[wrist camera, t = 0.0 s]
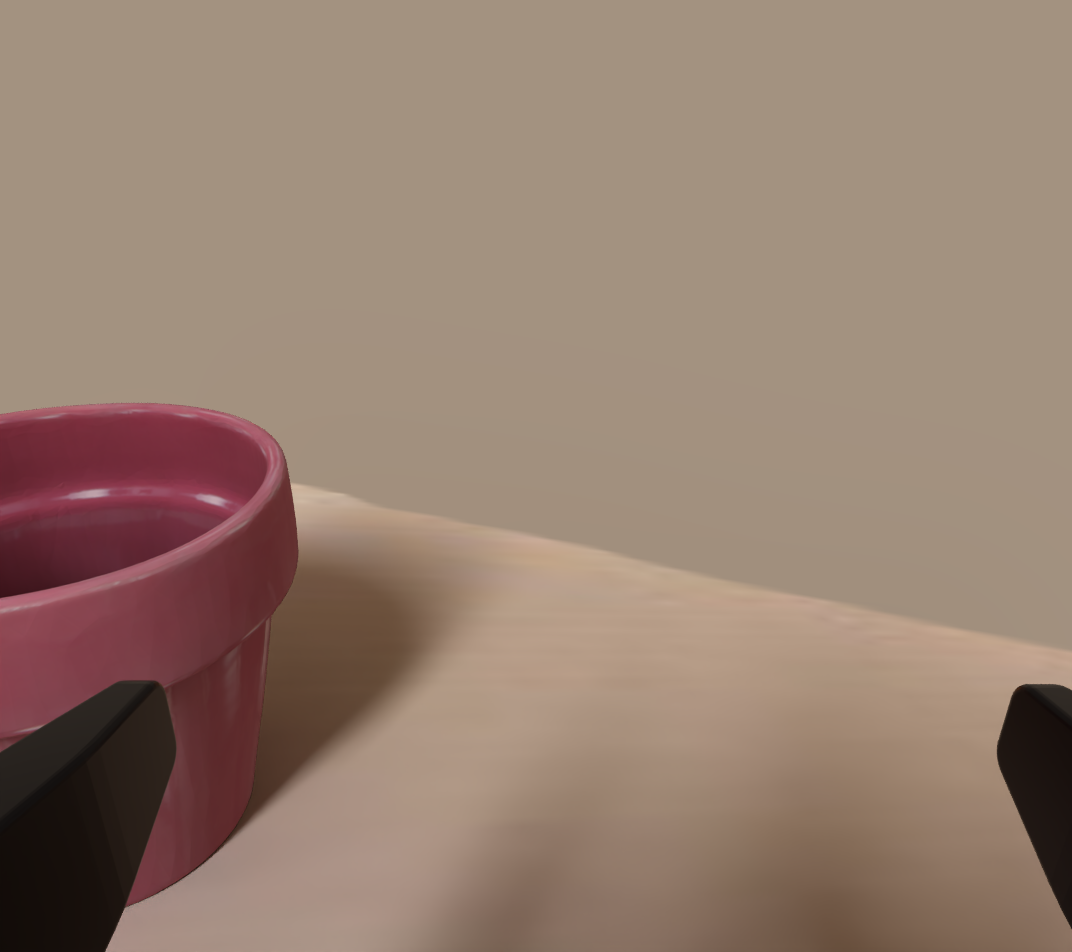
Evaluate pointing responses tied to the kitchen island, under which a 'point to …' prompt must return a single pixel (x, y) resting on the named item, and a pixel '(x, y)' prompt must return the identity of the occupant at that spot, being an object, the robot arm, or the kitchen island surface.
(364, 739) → the kitchen island surface
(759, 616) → the kitchen island surface
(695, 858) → the kitchen island surface
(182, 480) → the plant pot
